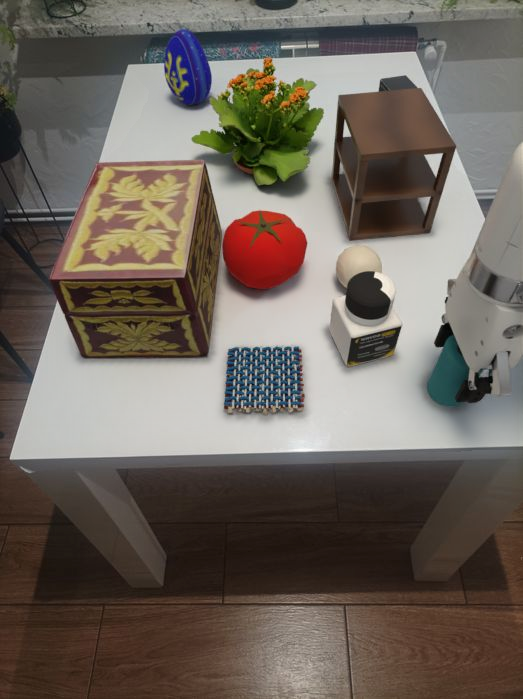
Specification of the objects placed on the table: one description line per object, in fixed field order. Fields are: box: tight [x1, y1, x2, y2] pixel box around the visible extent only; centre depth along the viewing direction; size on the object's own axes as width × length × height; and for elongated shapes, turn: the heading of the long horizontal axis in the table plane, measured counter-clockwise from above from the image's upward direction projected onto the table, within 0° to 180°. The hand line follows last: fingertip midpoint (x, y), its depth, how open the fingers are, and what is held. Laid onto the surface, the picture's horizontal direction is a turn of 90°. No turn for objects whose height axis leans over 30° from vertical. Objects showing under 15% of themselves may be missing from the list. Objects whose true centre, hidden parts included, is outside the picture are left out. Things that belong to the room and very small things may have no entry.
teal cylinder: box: [426, 335, 484, 408], centre depth 59 cm, size 5×5×9 cm
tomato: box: [221, 209, 308, 290], centre depth 73 cm, size 13×12×11 cm
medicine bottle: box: [329, 271, 403, 368], centre depth 63 cm, size 7×7×12 cm
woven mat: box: [223, 344, 306, 416], centre depth 64 cm, size 10×11×2 cm
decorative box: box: [49, 159, 223, 359], centre depth 70 cm, size 28×19×15 cm
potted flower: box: [191, 57, 325, 187], centre depth 90 cm, size 25×24×18 cm
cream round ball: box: [335, 244, 383, 289], centre depth 73 cm, size 7×7×7 cm
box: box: [377, 74, 419, 92], centre depth 96 cm, size 8×6×11 cm
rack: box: [331, 87, 457, 241], centre depth 80 cm, size 14×18×16 cm
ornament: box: [163, 28, 213, 106], centre depth 107 cm, size 11×9×15 cm
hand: (456, 370), depth 59 cm, fingers open, 7 cm apart
